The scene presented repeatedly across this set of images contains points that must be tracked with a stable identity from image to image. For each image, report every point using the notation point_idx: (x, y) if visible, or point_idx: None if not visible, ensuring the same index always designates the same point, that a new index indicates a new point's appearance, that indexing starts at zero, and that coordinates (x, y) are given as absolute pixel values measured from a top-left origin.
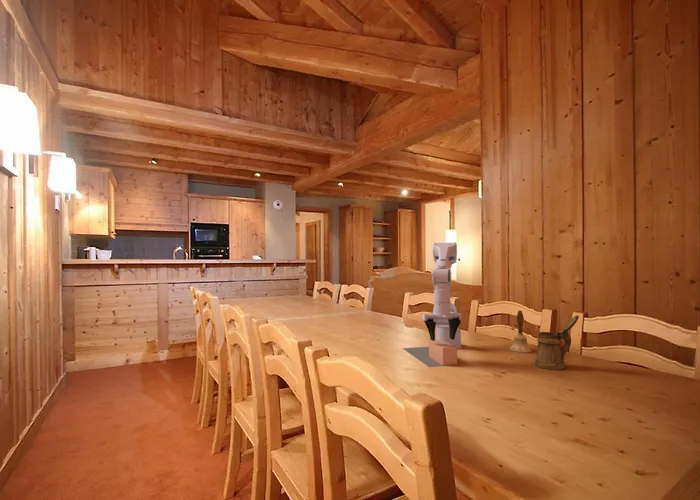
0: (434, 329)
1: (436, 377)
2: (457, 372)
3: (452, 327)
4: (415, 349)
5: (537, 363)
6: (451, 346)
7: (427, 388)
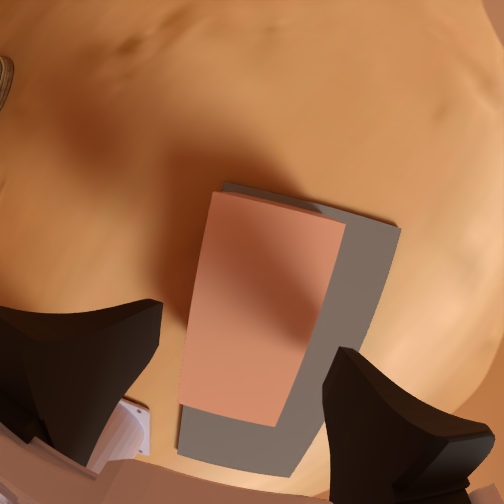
0: (388, 398)
1: (439, 115)
2: (313, 109)
3: (101, 368)
4: (253, 455)
5: (1, 90)
6: (242, 228)
7: (499, 72)
